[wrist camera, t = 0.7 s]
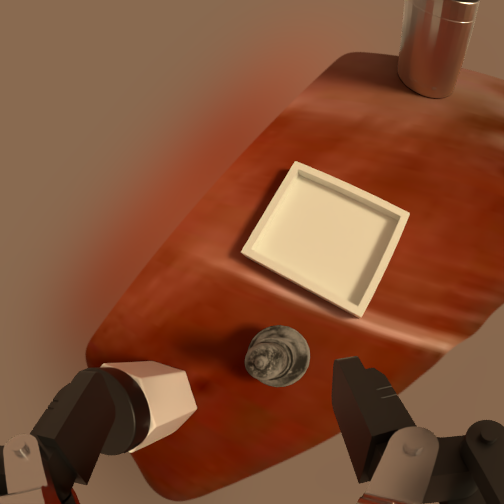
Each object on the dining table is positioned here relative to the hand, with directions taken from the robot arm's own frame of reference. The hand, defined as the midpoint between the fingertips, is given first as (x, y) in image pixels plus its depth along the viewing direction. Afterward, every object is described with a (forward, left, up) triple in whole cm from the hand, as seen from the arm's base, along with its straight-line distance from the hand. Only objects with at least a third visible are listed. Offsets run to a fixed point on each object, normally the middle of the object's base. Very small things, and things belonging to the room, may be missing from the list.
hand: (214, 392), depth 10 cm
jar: (+12, -10, -23) cm, 28 cm away
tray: (-13, -3, -23) cm, 26 cm away
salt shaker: (0, -1, -23) cm, 23 cm away
